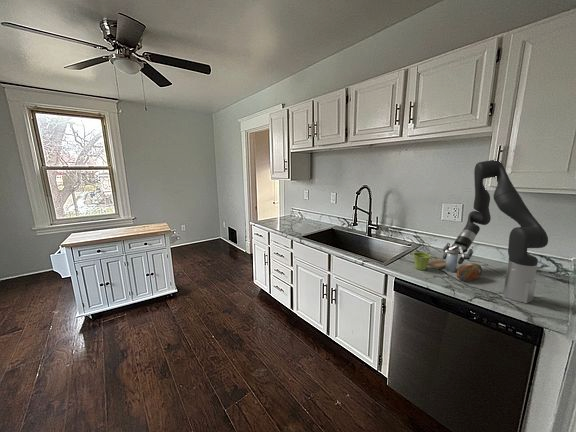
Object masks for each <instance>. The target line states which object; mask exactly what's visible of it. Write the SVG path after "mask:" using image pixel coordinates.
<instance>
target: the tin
mask: <svg viewBox="0 0 576 432" xmlns="http://www.w3.org/2000/svg"><path fill="white" fill-rule="evenodd" d="M482 271H483V269H482V265H480V264H479V263H474V262H472V263H467V264H460V266H459V267H458V268H456V278H457V279H458V280H460V281H463V282H468V281H473V280H478V279H479V278H480V277H481V275H482Z"/></svg>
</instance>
